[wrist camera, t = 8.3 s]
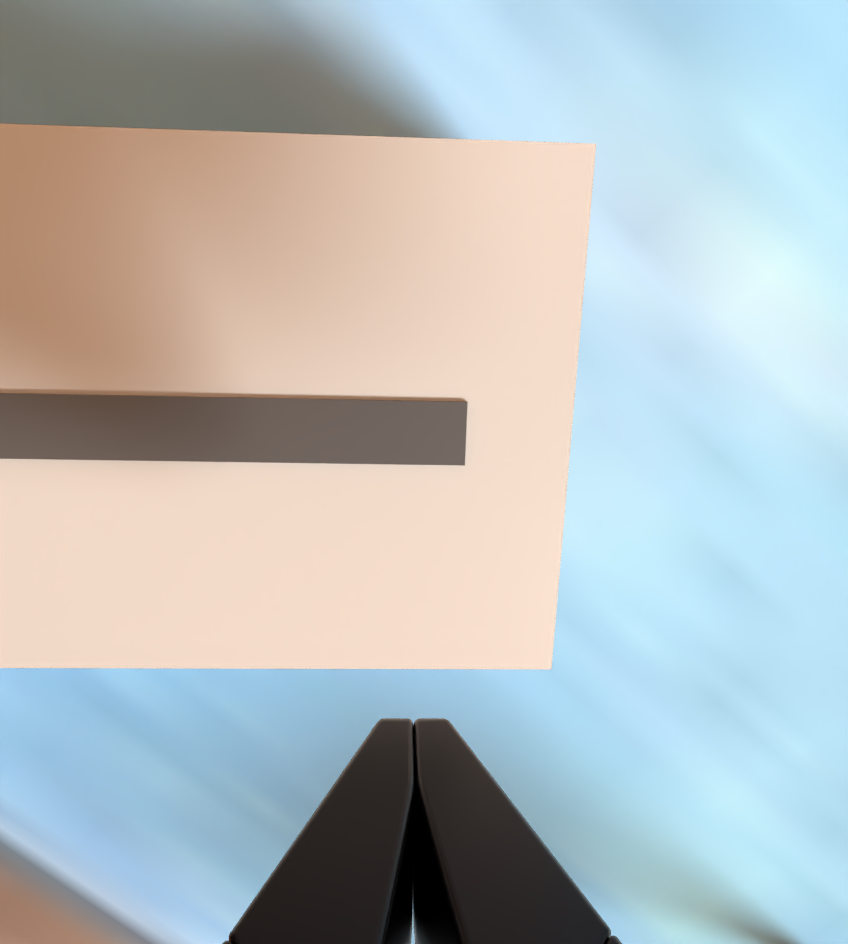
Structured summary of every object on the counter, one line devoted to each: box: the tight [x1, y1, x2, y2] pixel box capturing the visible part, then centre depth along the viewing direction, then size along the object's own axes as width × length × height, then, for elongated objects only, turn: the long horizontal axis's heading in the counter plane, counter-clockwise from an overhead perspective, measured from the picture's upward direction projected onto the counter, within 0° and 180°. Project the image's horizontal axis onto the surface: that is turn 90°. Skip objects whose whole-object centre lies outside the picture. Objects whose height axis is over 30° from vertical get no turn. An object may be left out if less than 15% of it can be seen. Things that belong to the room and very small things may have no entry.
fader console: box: [0, 124, 596, 669], centre depth 15 cm, size 10×22×7 cm, turn 89°
